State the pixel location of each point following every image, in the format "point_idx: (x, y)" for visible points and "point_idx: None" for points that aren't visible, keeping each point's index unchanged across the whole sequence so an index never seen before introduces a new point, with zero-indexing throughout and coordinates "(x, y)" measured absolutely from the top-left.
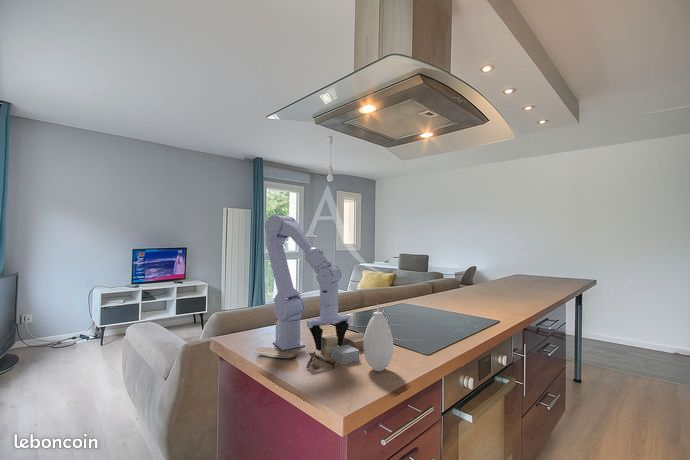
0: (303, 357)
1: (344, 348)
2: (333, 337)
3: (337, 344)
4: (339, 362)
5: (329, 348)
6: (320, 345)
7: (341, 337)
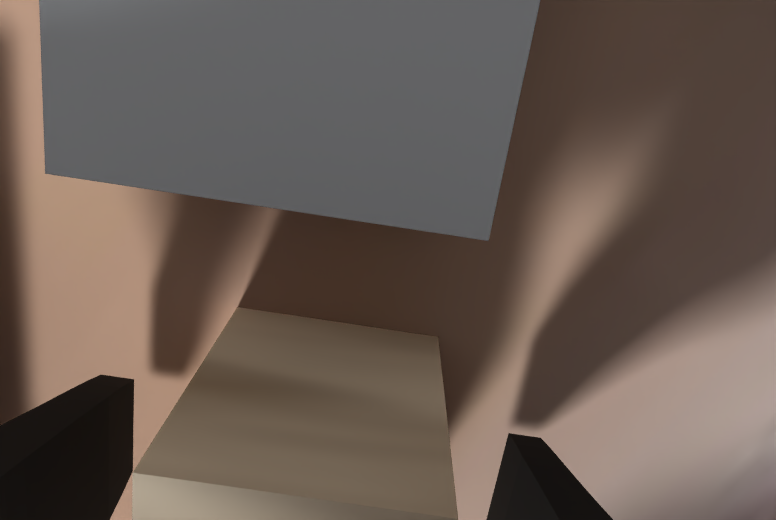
0: (728, 474)
1: (274, 18)
2: (245, 505)
3: (201, 375)
4: None
5: (382, 379)
6: (553, 480)
7: (24, 455)
